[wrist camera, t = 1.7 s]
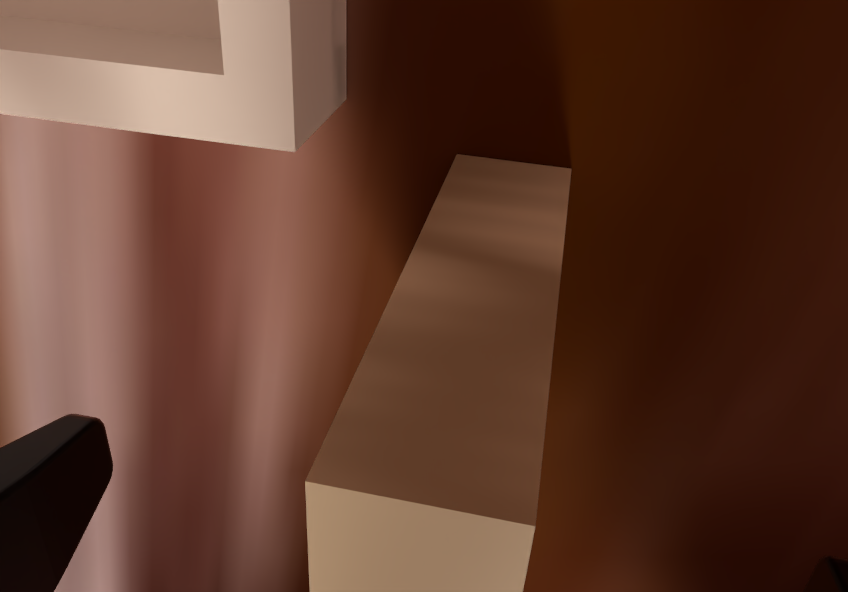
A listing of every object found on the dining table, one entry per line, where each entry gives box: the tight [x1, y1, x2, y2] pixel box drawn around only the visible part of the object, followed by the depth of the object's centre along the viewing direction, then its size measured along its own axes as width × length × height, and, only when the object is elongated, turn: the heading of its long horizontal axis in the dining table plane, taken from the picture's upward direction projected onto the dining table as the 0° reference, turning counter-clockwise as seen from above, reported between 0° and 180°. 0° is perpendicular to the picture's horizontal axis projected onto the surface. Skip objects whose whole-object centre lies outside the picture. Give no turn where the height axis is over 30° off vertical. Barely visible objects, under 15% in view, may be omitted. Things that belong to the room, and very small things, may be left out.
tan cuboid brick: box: [305, 154, 572, 592], centre depth 11 cm, size 2×4×8 cm, turn 178°
